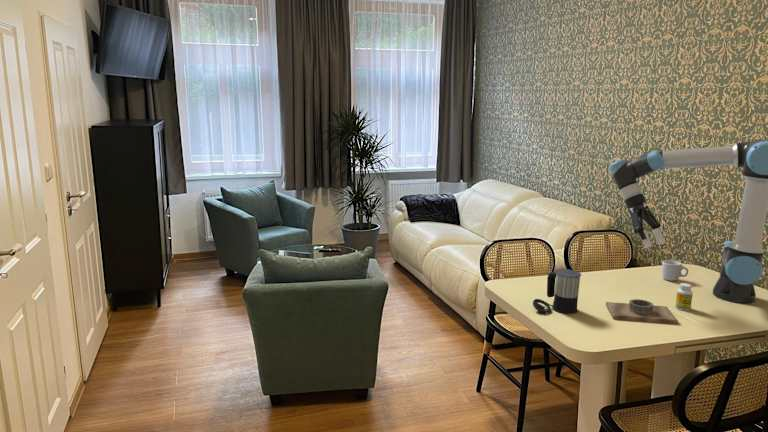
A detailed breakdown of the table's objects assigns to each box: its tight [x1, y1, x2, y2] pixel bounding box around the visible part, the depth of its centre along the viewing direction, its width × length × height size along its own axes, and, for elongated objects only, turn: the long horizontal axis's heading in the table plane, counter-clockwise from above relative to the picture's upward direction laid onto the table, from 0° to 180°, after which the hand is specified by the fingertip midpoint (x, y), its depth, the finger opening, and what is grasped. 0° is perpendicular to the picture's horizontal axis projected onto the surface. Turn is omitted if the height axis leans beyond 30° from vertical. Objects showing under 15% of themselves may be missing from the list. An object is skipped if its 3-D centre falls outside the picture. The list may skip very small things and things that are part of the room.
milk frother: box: [532, 268, 582, 315], centre depth 220 cm, size 14×16×15 cm
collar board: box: [605, 298, 679, 325], centre depth 218 cm, size 22×14×4 cm, turn 80°
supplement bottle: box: [675, 282, 694, 312], centre depth 224 cm, size 5×5×10 cm
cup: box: [661, 259, 689, 282], centre depth 259 cm, size 11×8×8 cm
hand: (655, 245), depth 230 cm, fingers open, 13 cm apart
